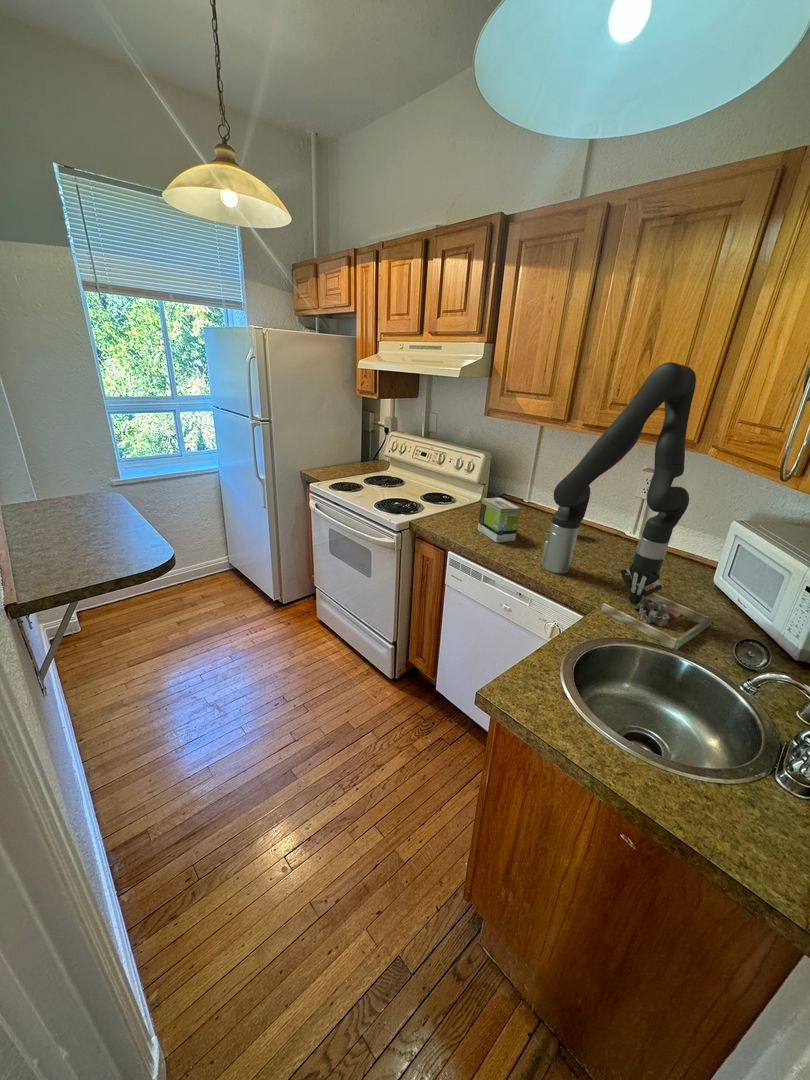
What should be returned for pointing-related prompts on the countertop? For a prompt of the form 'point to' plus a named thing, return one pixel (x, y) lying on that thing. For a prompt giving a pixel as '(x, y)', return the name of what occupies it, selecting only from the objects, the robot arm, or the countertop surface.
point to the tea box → (498, 519)
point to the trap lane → (657, 634)
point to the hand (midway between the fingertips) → (633, 603)
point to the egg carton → (654, 612)
